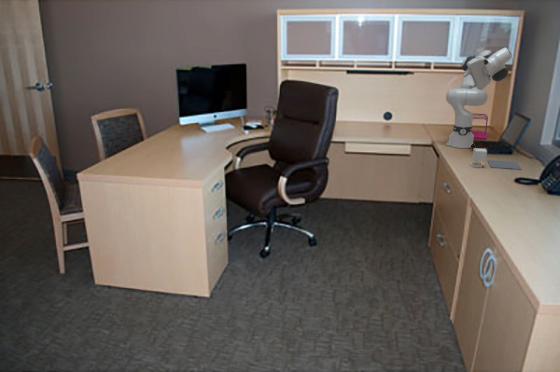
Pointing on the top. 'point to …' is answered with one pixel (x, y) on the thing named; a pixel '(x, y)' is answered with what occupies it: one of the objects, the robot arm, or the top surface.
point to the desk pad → (504, 164)
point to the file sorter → (480, 134)
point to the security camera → (478, 156)
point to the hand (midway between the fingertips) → (466, 82)
